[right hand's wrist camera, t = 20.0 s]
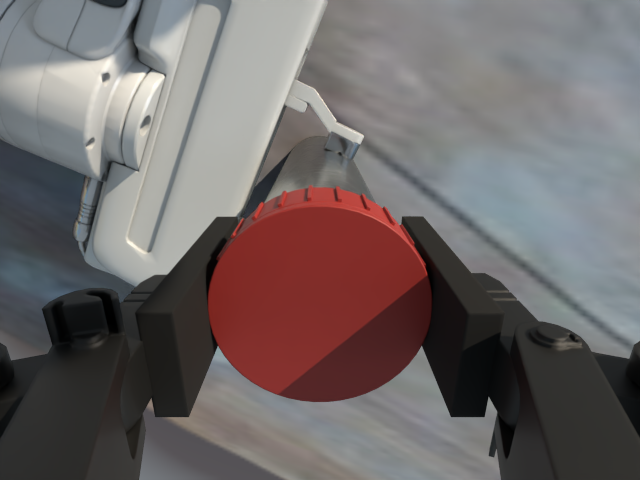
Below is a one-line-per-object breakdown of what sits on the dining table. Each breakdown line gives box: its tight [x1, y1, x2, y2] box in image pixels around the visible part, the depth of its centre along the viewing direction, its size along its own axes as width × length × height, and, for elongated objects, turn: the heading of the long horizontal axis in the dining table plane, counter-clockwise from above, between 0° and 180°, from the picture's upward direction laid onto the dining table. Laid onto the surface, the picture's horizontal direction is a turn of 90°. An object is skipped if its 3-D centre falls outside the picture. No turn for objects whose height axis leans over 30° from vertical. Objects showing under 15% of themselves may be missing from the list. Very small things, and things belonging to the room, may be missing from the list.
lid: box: [207, 185, 432, 402], centre depth 11 cm, size 6×6×2 cm
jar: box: [264, 136, 375, 203], centre depth 20 cm, size 5×5×20 cm
